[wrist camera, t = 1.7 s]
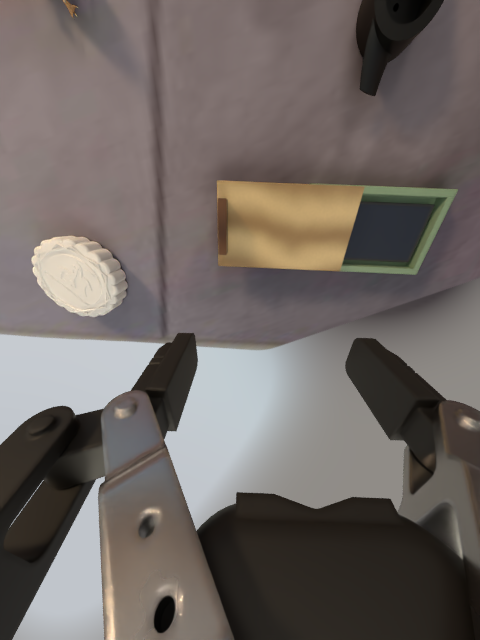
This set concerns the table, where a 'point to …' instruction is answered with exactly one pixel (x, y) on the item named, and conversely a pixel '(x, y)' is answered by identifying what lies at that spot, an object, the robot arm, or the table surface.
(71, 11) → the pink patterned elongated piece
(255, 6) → the table surface
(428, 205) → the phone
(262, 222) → the slide lid
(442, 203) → the sliding lid box
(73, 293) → the mooncake
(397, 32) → the black wing nut
